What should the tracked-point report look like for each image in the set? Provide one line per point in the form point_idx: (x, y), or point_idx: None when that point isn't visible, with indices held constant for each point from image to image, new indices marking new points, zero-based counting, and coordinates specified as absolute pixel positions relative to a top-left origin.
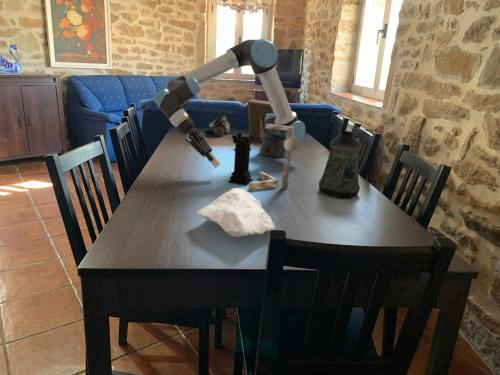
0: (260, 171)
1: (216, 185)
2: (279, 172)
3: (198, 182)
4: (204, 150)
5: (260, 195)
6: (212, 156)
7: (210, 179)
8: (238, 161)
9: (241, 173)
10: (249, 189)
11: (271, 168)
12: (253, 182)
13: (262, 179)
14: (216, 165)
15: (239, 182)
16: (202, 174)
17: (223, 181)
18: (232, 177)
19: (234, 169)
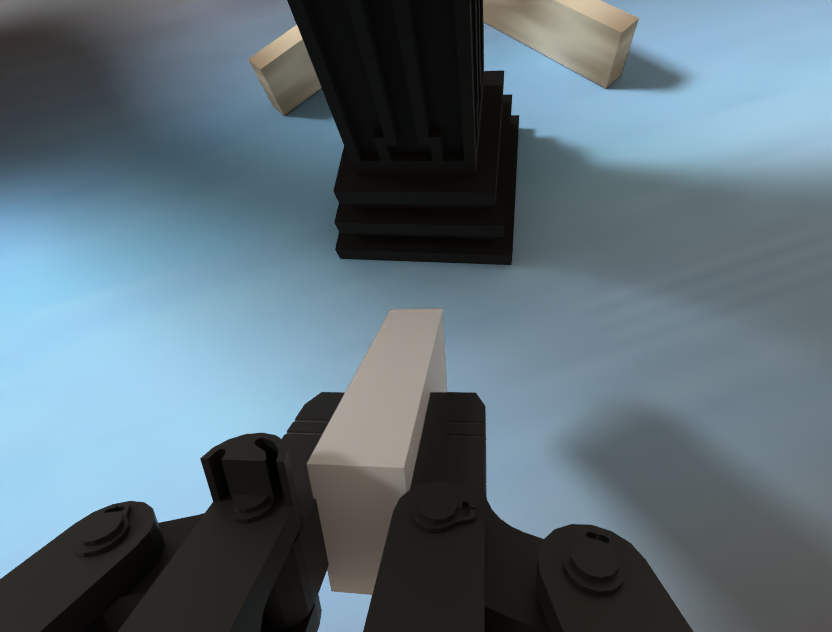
0: (257, 62)
1: (661, 332)
2: (115, 54)
3: (690, 557)
4: (646, 616)
5: (676, 3)
6: (423, 405)
7: (502, 456)
8: (475, 5)
9: (481, 101)
10: (616, 75)
11: (23, 114)
12: (594, 12)
13: None
14: (442, 363)
15: (510, 166)
16: (354, 623)
17: (500, 313)
18: (504, 203)
19: (475, 139)
